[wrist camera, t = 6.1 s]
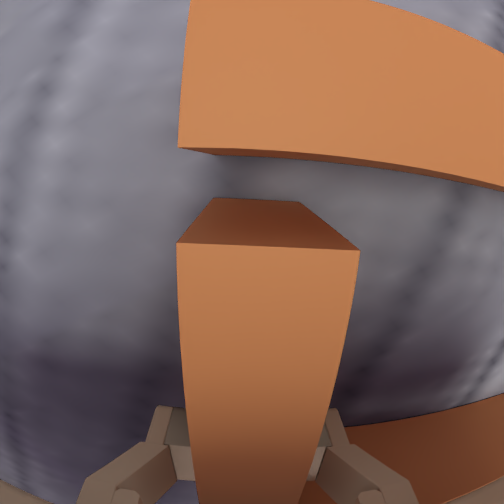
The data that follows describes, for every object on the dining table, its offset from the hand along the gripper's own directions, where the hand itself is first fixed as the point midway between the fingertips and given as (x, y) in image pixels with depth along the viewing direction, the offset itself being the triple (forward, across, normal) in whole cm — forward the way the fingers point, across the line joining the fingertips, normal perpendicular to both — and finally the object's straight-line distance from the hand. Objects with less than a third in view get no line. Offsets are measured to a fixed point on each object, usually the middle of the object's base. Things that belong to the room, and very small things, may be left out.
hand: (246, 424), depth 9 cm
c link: (+2, +9, +2) cm, 9 cm away
